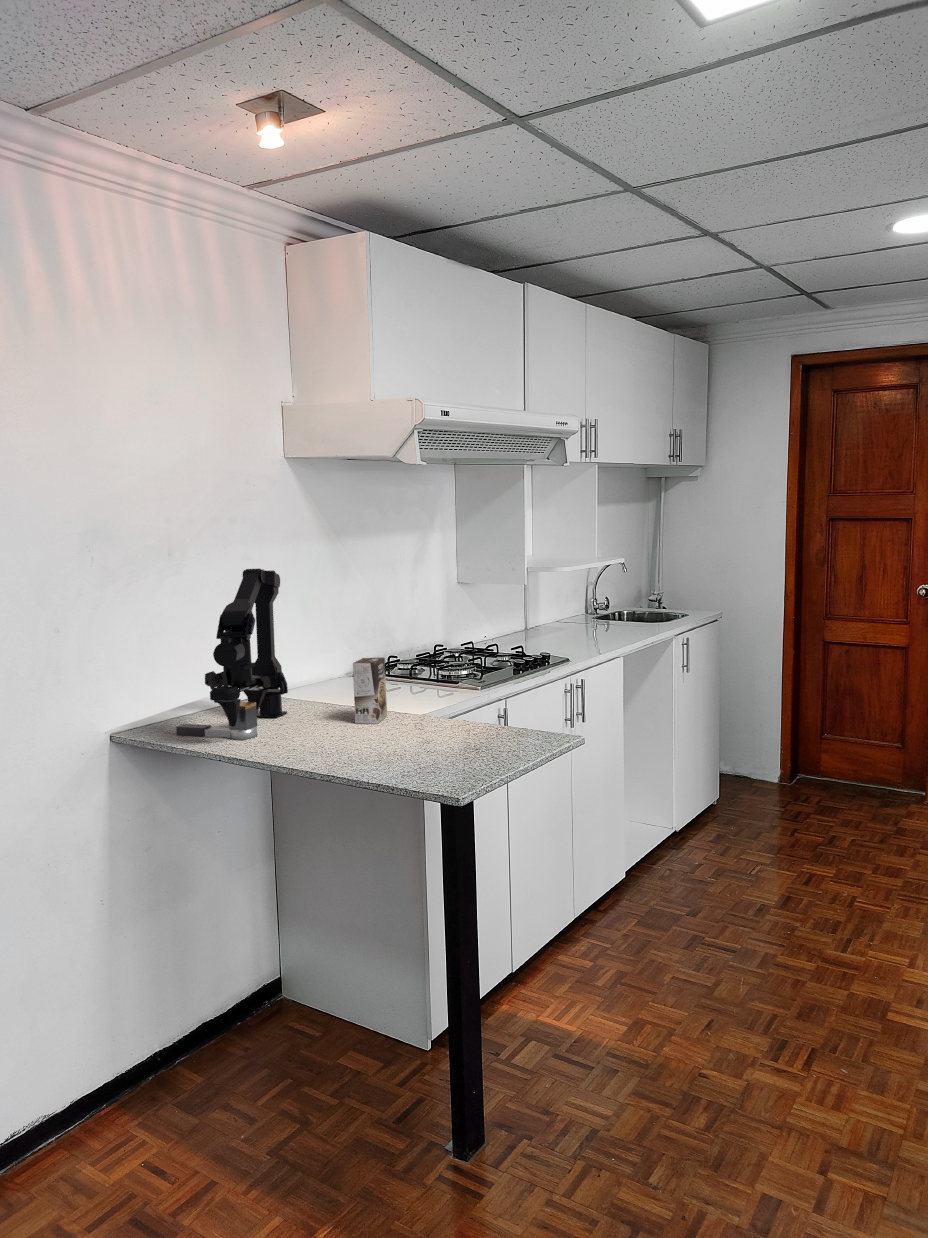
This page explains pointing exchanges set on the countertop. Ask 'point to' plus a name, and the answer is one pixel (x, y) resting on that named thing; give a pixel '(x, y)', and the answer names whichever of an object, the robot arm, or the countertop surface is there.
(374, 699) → the coffee box
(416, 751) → the countertop surface
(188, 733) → the ratchet
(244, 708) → the grey block
